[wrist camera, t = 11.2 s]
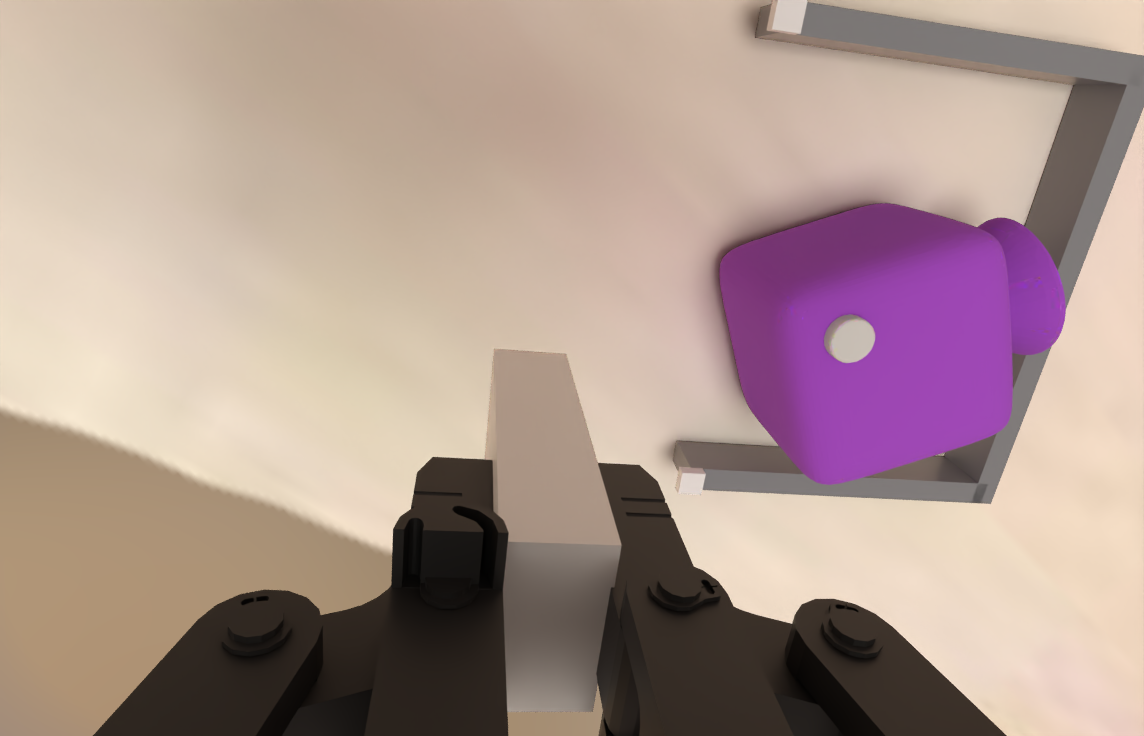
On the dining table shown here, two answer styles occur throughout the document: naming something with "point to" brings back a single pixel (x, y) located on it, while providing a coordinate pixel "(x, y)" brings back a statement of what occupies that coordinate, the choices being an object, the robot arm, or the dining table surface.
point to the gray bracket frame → (1057, 218)
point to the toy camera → (886, 333)
